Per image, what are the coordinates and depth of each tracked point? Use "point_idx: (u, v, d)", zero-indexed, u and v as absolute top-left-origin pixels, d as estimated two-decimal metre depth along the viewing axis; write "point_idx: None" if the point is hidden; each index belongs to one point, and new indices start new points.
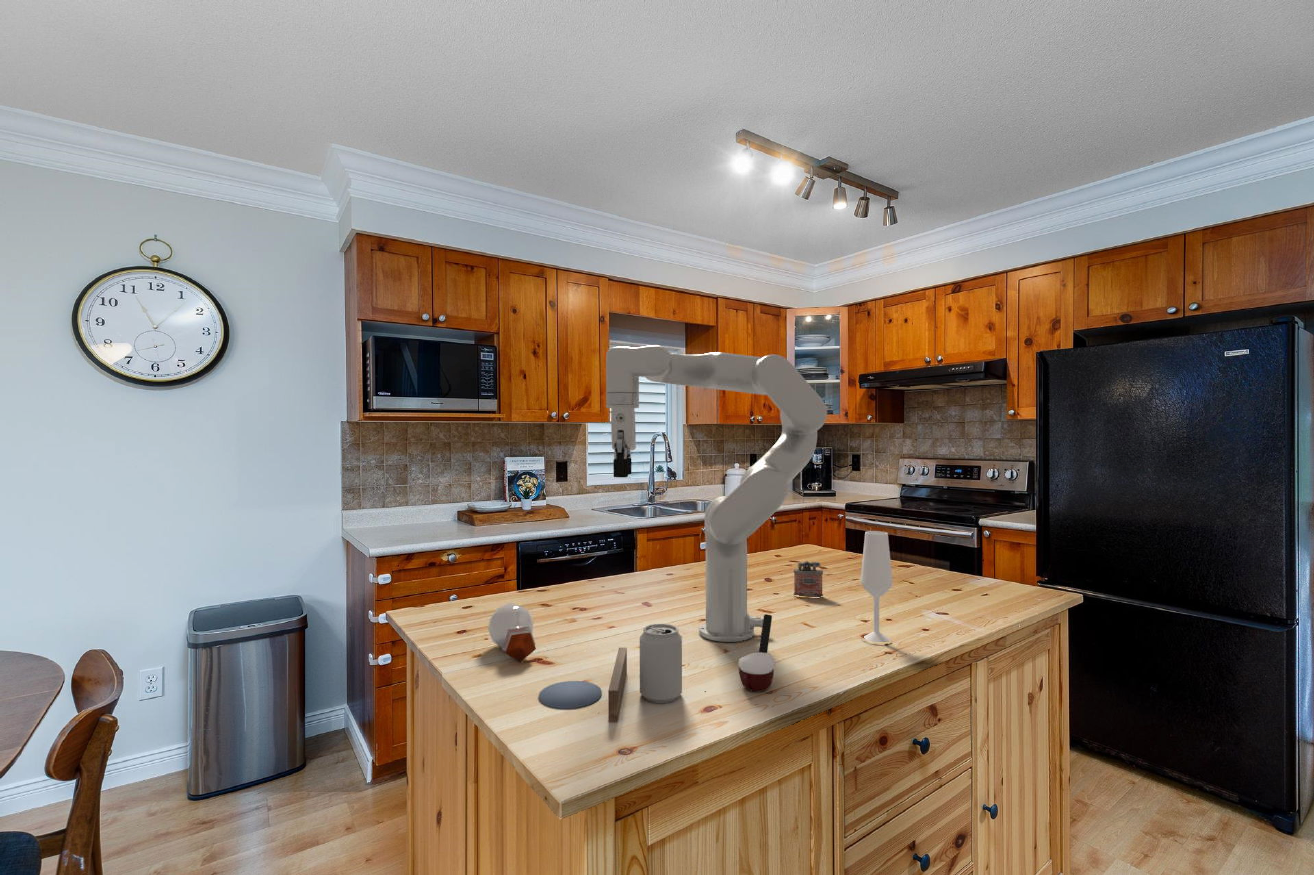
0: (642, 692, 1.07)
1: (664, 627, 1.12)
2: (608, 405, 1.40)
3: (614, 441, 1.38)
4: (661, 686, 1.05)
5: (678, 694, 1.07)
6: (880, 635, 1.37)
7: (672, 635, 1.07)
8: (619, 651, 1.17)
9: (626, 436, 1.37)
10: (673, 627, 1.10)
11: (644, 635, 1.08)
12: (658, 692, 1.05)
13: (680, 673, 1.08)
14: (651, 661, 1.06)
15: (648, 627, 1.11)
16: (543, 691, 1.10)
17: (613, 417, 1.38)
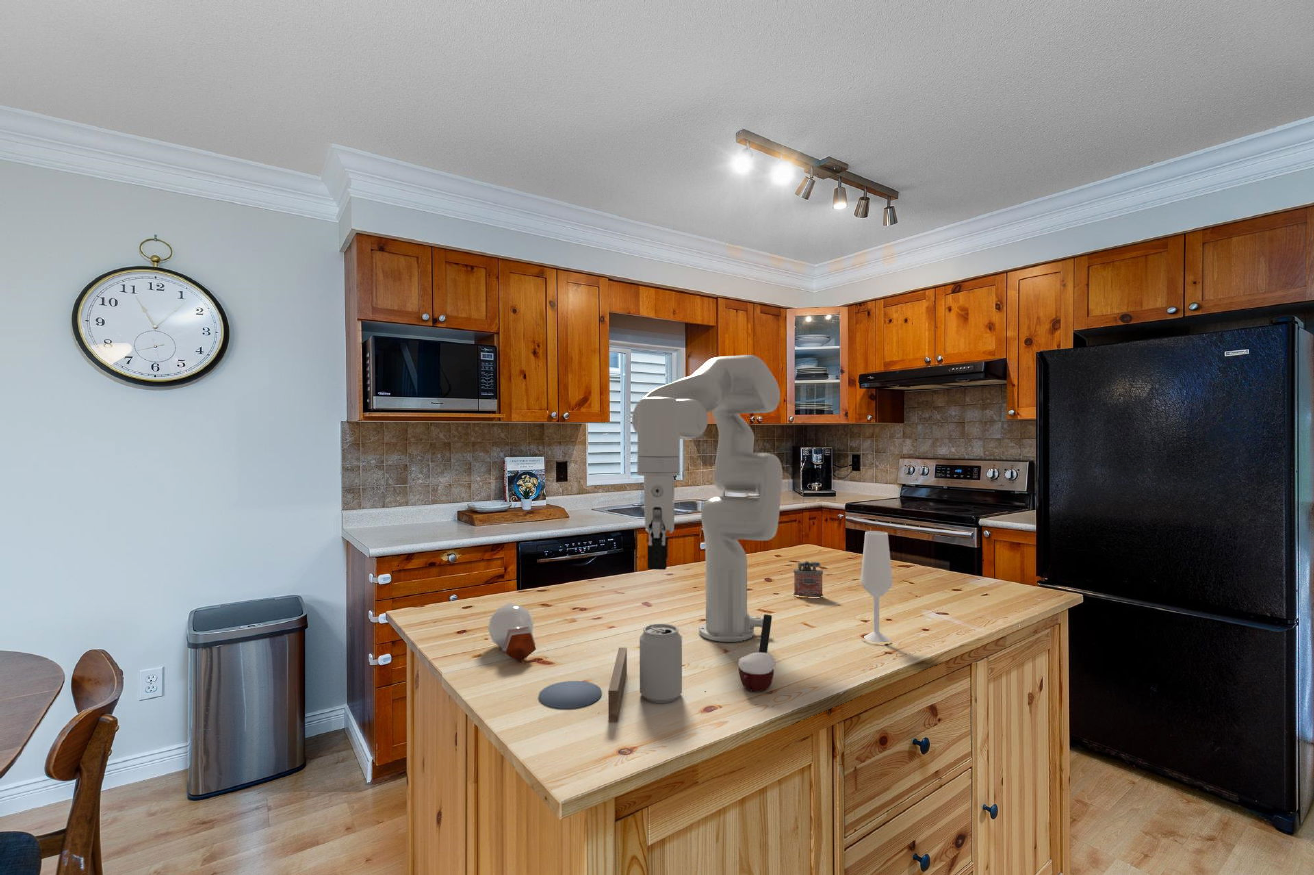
0: (642, 692, 1.07)
1: (664, 627, 1.12)
2: (640, 473, 1.08)
3: (649, 522, 1.05)
4: (661, 686, 1.05)
5: (678, 694, 1.07)
6: (880, 635, 1.37)
7: (672, 635, 1.07)
8: (619, 651, 1.17)
9: (664, 515, 1.05)
10: (673, 627, 1.10)
11: (644, 635, 1.08)
12: (658, 692, 1.05)
13: (680, 673, 1.08)
14: (651, 661, 1.06)
15: (648, 627, 1.11)
16: (543, 691, 1.10)
17: (647, 490, 1.05)
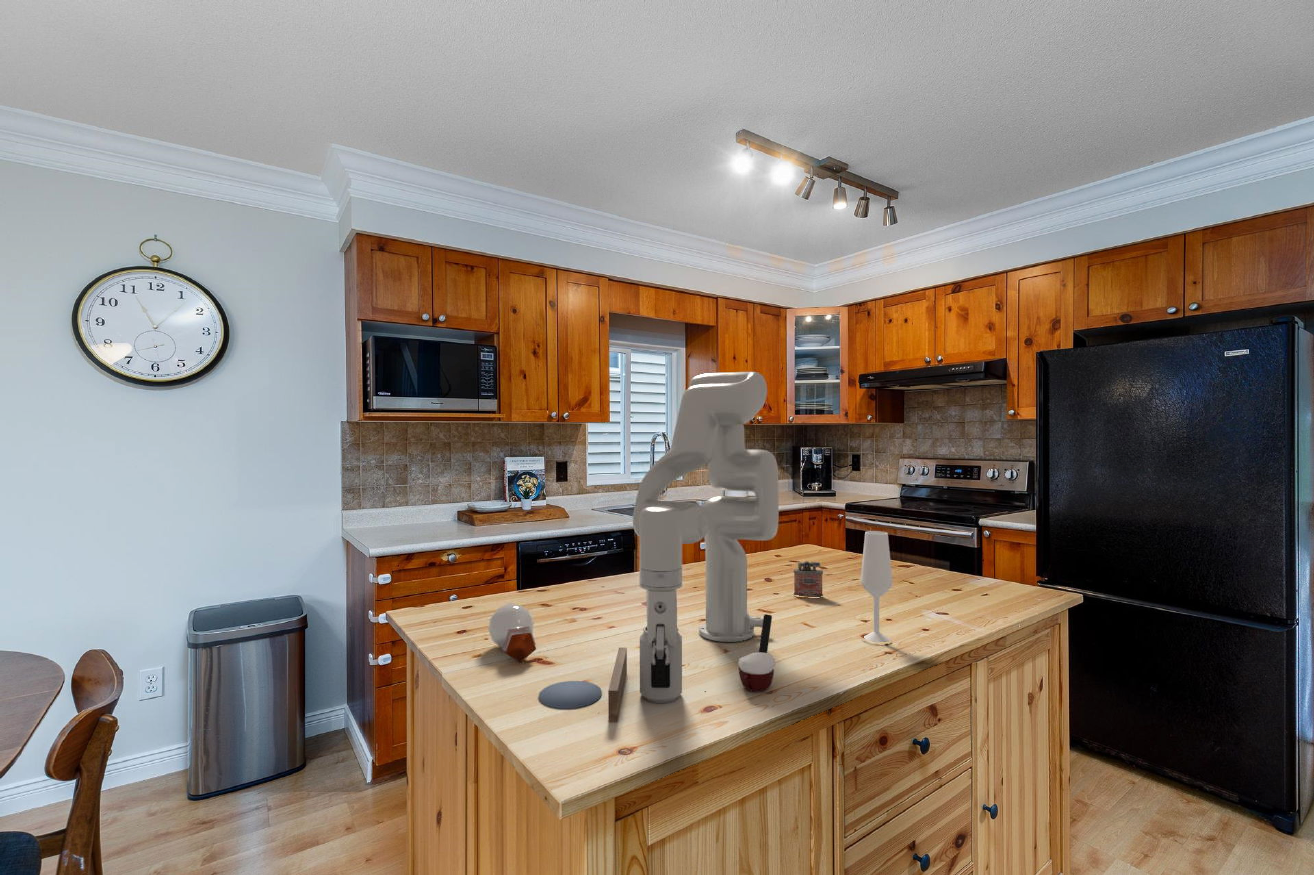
0: (642, 692, 1.07)
1: (664, 627, 1.12)
2: (643, 586, 1.07)
3: (652, 638, 1.04)
4: None
5: (678, 694, 1.07)
6: (880, 635, 1.37)
7: None
8: (619, 651, 1.17)
9: (668, 632, 1.04)
10: None
11: (644, 635, 1.08)
12: (658, 692, 1.05)
13: (680, 673, 1.08)
14: (651, 661, 1.06)
15: None
16: (543, 691, 1.10)
17: (650, 606, 1.05)
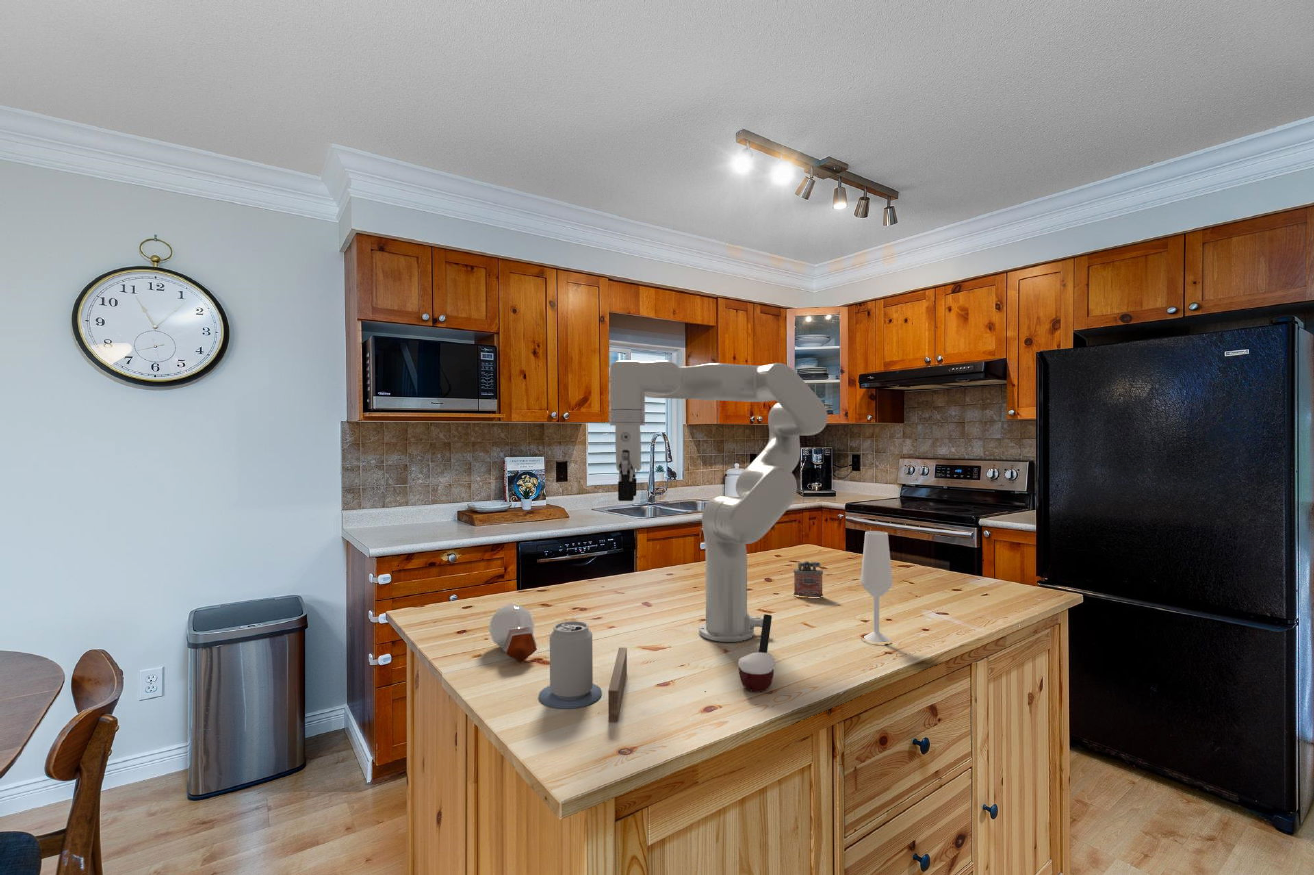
0: (551, 689, 1.08)
1: (576, 624, 1.12)
2: (612, 423, 1.31)
3: (619, 462, 1.28)
4: (569, 683, 1.06)
5: (587, 691, 1.07)
6: (880, 635, 1.37)
7: (581, 632, 1.07)
8: (619, 651, 1.17)
9: (632, 457, 1.28)
10: (584, 624, 1.11)
11: (553, 632, 1.08)
12: (566, 689, 1.06)
13: (589, 670, 1.08)
14: (558, 658, 1.06)
15: (560, 624, 1.11)
16: (543, 691, 1.10)
17: (618, 436, 1.29)
